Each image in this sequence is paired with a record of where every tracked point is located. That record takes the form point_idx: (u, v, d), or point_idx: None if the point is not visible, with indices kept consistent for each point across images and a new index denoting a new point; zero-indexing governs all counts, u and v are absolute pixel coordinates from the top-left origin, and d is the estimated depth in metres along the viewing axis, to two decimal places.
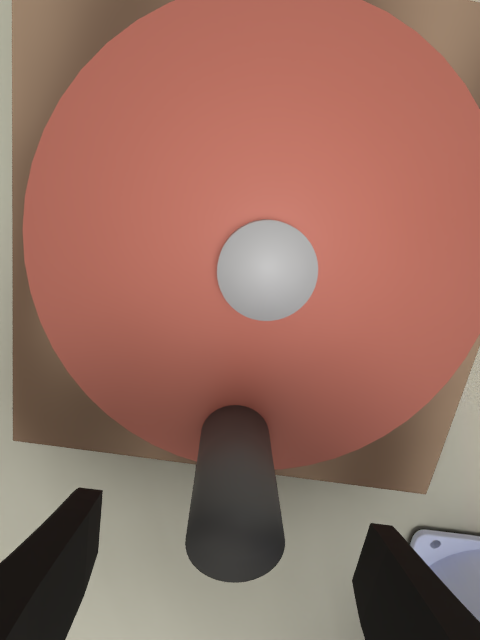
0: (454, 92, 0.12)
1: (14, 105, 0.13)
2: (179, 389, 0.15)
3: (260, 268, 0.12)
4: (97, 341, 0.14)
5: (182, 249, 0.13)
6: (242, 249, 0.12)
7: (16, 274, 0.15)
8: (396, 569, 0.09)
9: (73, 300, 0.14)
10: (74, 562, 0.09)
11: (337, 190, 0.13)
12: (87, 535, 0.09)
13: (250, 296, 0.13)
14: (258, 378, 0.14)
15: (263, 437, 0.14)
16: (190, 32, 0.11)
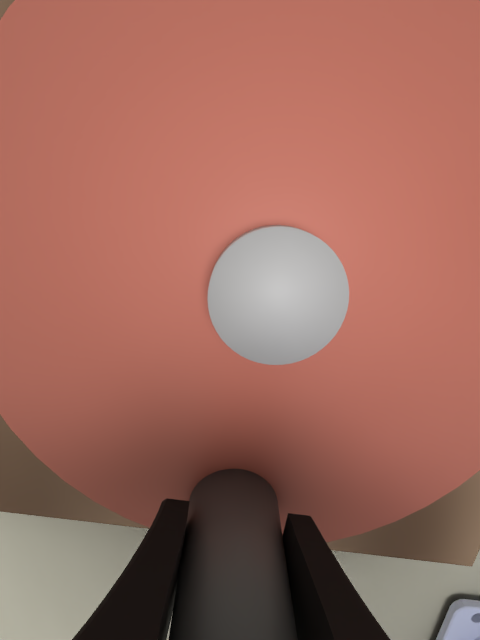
0: None
1: None
2: (159, 449, 0.11)
3: (269, 293, 0.09)
4: (48, 388, 0.10)
5: (159, 266, 0.09)
6: (243, 267, 0.09)
7: None
8: (300, 558, 0.09)
9: (13, 334, 0.10)
10: (176, 573, 0.09)
11: (375, 184, 0.09)
12: None
13: (254, 332, 0.09)
14: (264, 435, 0.11)
15: (271, 520, 0.10)
16: None
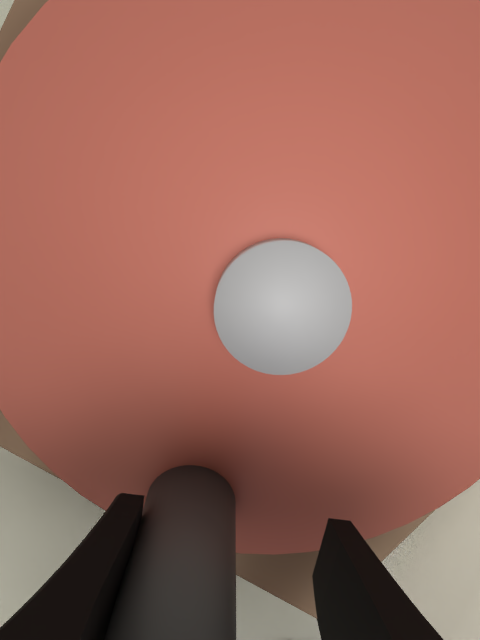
0: None
1: None
2: (131, 433, 0.11)
3: (275, 304, 0.09)
4: (33, 350, 0.10)
5: (173, 253, 0.10)
6: (256, 273, 0.09)
7: None
8: (347, 563, 0.09)
9: (10, 290, 0.10)
10: (123, 567, 0.09)
11: (396, 223, 0.09)
12: (133, 540, 0.09)
13: (252, 338, 0.09)
14: (237, 439, 0.11)
15: (229, 523, 0.10)
16: None
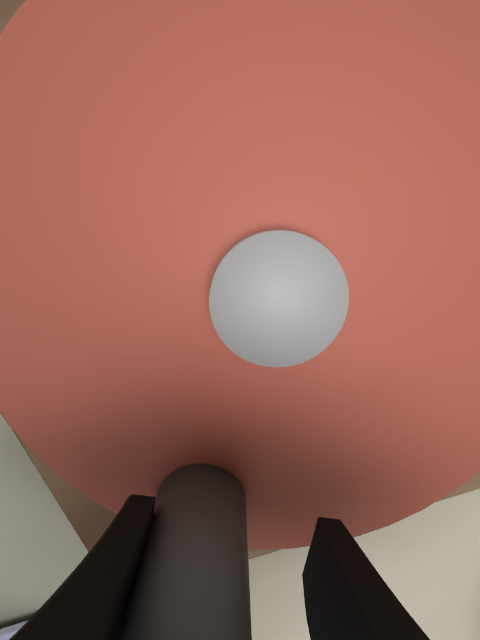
0: None
1: None
2: (136, 435, 0.11)
3: (270, 295, 0.09)
4: (33, 358, 0.10)
5: (165, 251, 0.09)
6: (249, 266, 0.09)
7: None
8: (336, 562, 0.09)
9: (6, 299, 0.10)
10: (136, 569, 0.09)
11: (388, 205, 0.09)
12: (145, 542, 0.09)
13: (249, 332, 0.09)
14: (243, 435, 0.11)
15: (239, 519, 0.10)
16: None
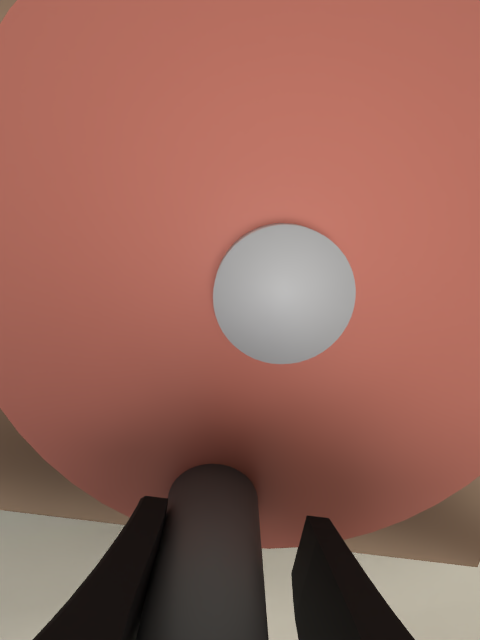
0: None
1: None
2: (145, 437, 0.11)
3: (275, 291, 0.09)
4: (38, 363, 0.10)
5: (167, 251, 0.09)
6: (253, 262, 0.09)
7: None
8: (322, 560, 0.09)
9: (9, 304, 0.10)
10: (151, 571, 0.09)
11: (393, 194, 0.09)
12: (159, 543, 0.09)
13: (255, 329, 0.09)
14: (252, 433, 0.11)
15: (251, 519, 0.10)
16: None
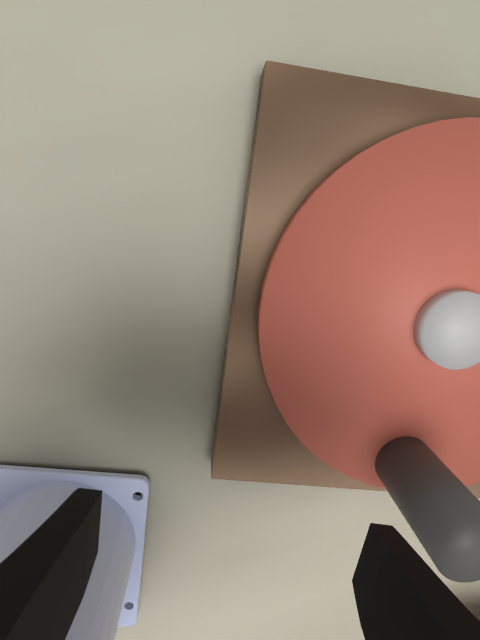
0: None
1: None
2: (365, 422, 0.17)
3: (457, 328, 0.16)
4: (306, 381, 0.17)
5: (388, 309, 0.16)
6: (446, 313, 0.16)
7: (444, 96, 0.16)
8: (397, 569, 0.09)
9: (294, 347, 0.16)
10: (74, 562, 0.09)
11: None
12: (87, 535, 0.09)
13: (445, 350, 0.16)
14: (430, 414, 0.18)
15: (444, 464, 0.17)
16: (425, 150, 0.15)
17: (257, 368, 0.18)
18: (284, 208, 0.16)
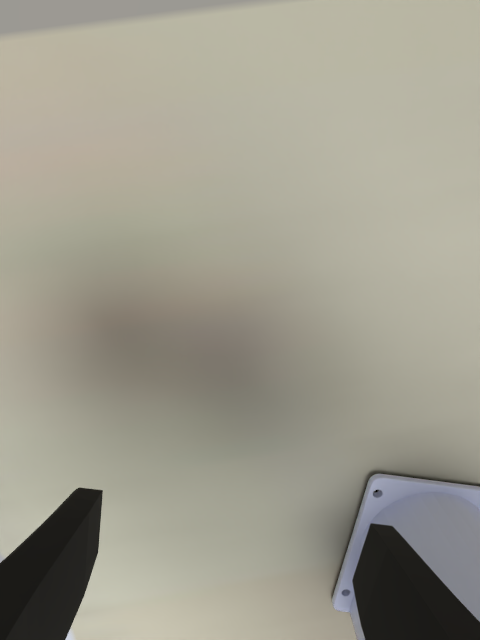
0: None
1: None
2: None
3: None
4: None
5: None
6: None
7: None
8: (396, 569, 0.09)
9: None
10: (74, 562, 0.09)
11: None
12: (87, 535, 0.09)
13: None
14: None
15: None
16: None
17: None
18: None
